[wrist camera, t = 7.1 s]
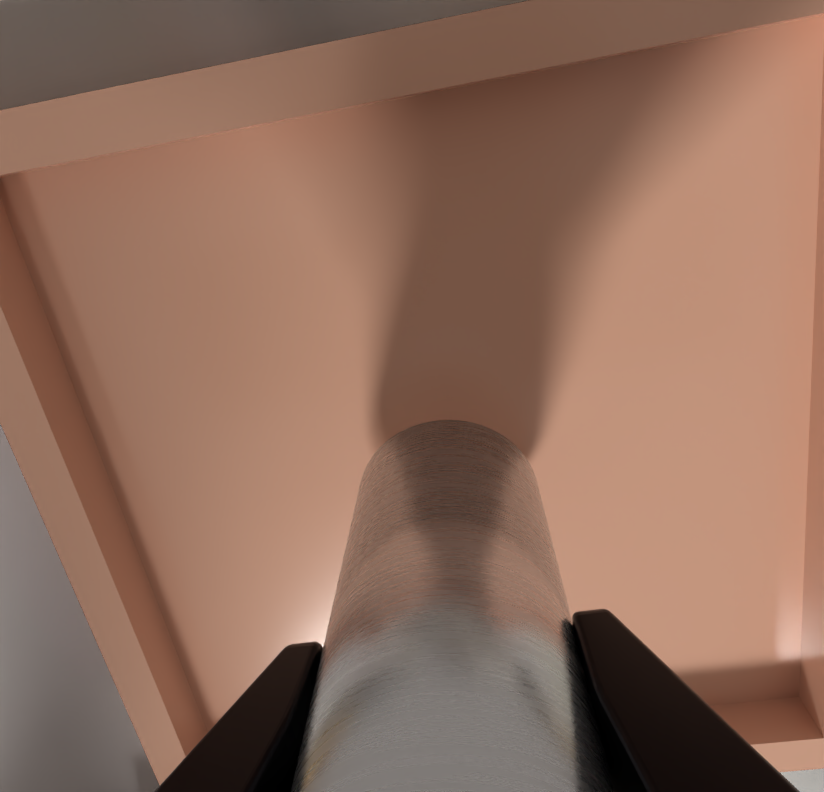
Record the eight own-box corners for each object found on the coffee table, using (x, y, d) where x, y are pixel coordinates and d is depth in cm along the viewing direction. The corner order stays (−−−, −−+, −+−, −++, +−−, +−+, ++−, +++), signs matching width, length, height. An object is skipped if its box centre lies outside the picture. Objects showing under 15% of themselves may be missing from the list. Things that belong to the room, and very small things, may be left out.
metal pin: (377, 585, 12) (276, 1306, 5) (341, 433, 11) (138, 1069, 4) (548, 565, 12) (717, 1302, 5) (527, 406, 11) (707, 1039, 3)
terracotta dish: (199, 763, 16) (176, 823, 15) (-55, 132, 11) (-126, 136, 10) (826, 703, 15) (865, 764, 13) (870, -58, 10) (941, -86, 8)
